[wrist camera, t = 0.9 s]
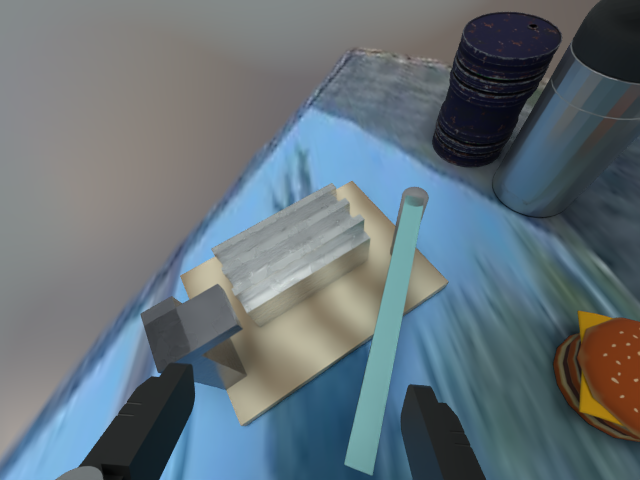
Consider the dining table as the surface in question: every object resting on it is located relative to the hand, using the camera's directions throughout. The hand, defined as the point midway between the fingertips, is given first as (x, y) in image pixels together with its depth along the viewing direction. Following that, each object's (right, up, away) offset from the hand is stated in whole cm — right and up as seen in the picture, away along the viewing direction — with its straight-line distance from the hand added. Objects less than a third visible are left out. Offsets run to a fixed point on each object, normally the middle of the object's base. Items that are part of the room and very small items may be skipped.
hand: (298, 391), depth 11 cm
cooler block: (-3, 0, +23) cm, 23 cm away
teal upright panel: (+7, -4, +19) cm, 21 cm away
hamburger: (+27, -8, +17) cm, 33 cm away
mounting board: (0, 0, +24) cm, 24 cm away
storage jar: (+23, +20, +34) cm, 45 cm away
